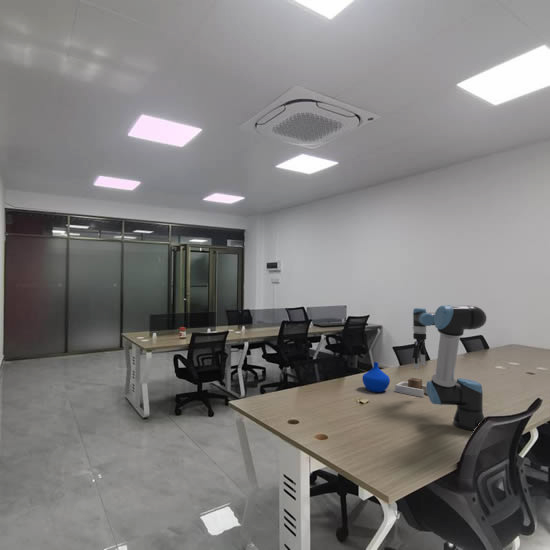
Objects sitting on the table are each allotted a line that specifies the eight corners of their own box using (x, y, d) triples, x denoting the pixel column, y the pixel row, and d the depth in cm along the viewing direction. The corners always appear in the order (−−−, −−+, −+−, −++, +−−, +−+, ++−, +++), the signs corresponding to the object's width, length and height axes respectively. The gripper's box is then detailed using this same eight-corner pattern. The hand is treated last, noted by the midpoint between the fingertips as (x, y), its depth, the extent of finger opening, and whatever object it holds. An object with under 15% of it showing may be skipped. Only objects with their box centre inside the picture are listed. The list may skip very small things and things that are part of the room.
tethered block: (450, 398, 231) (449, 382, 232) (446, 400, 226) (446, 384, 226) (411, 390, 247) (411, 376, 248) (408, 392, 242) (408, 378, 242)
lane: (429, 392, 243) (429, 386, 243) (423, 397, 233) (423, 390, 233) (402, 387, 255) (402, 381, 255) (395, 391, 245) (395, 385, 245)
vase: (380, 395, 235) (380, 366, 235) (357, 389, 248) (357, 362, 249) (394, 390, 247) (394, 363, 247) (372, 385, 260) (372, 358, 261)
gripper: (419, 330, 236) (419, 362, 235) (407, 334, 216) (407, 369, 215) (431, 331, 231) (431, 364, 230) (420, 335, 211) (420, 371, 211)
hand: (419, 366), depth 223 cm, fingers open, 13 cm apart
